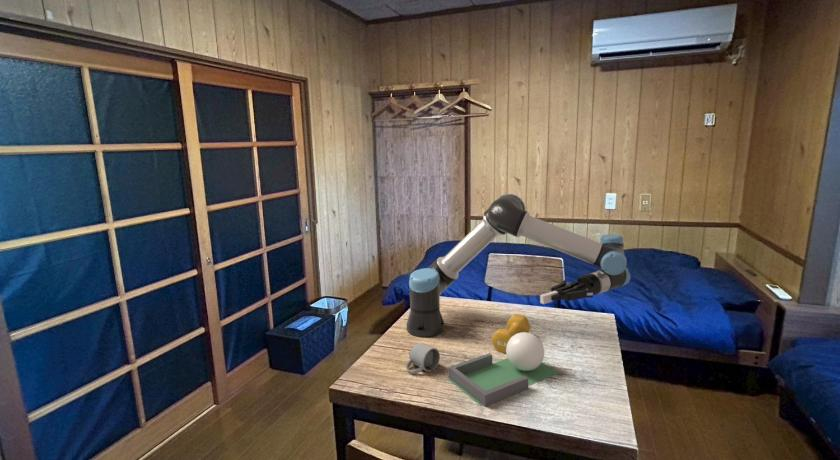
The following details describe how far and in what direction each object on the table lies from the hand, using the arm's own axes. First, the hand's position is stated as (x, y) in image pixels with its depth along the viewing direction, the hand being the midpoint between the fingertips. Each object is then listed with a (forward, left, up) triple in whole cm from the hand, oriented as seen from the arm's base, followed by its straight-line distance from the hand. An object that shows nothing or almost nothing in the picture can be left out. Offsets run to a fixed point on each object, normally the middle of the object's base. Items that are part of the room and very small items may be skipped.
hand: (541, 299), depth 139 cm
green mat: (+1, -16, -22) cm, 27 cm away
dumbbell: (-15, +1, -23) cm, 27 cm away
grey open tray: (+1, -23, -22) cm, 31 cm away
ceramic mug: (-18, -35, -22) cm, 46 cm away
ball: (+1, -8, -16) cm, 18 cm away
